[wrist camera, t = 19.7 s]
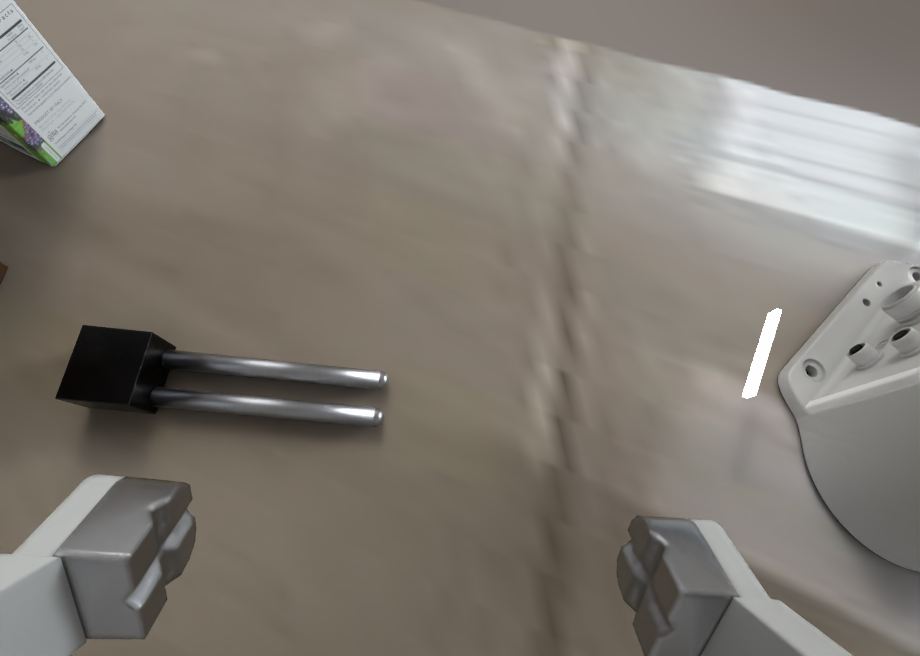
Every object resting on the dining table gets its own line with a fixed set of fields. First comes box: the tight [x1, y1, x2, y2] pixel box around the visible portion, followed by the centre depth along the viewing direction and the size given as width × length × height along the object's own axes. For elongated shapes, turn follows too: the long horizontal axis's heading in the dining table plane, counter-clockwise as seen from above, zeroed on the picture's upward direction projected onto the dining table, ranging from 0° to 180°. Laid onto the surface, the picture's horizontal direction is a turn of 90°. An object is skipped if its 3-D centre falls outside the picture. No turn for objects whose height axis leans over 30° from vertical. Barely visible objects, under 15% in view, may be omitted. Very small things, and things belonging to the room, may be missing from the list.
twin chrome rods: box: [55, 325, 389, 427], centre depth 29 cm, size 18×4×3 cm, turn 85°
